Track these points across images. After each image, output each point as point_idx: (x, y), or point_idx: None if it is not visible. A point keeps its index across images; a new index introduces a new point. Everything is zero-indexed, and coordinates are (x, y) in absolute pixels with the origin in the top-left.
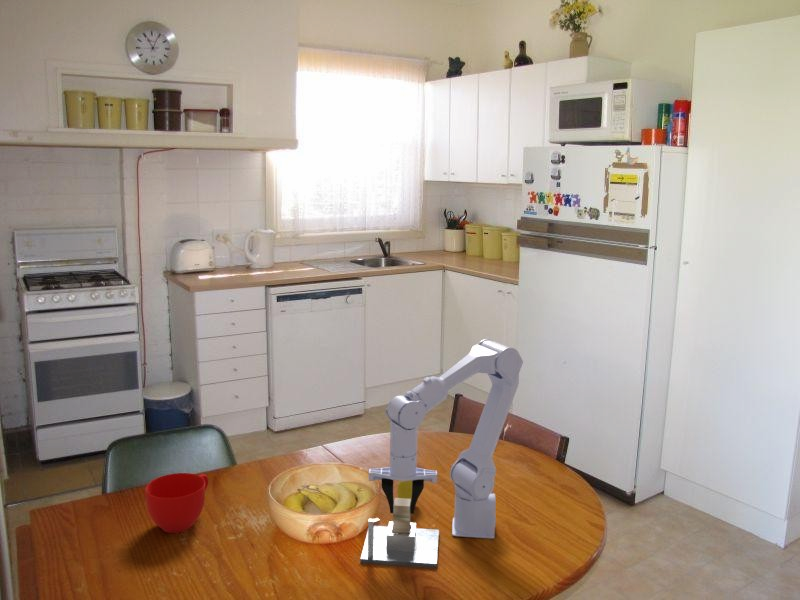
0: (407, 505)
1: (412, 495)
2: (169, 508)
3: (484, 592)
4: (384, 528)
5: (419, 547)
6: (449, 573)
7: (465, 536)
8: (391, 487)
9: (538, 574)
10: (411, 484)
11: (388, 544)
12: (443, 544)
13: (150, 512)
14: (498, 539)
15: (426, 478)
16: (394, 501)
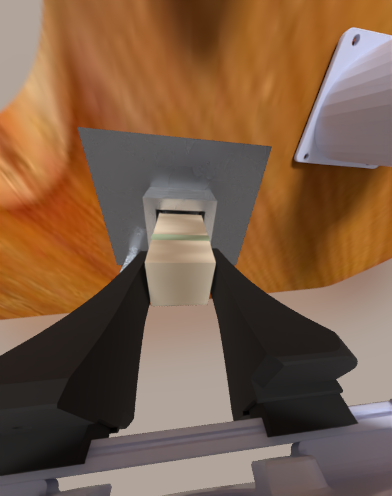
0: (200, 302)
1: (224, 349)
2: None
3: (275, 291)
4: (129, 147)
5: (214, 226)
6: (248, 267)
7: (320, 163)
8: (125, 426)
9: (358, 259)
10: None
11: None
12: (262, 194)
13: None
14: (380, 166)
15: (359, 438)
16: (149, 286)
